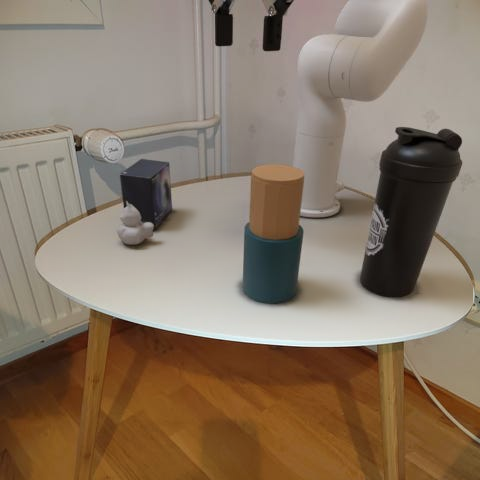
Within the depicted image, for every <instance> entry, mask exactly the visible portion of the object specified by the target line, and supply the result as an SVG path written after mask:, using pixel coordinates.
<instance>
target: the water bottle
mask: <svg viewBox="0 0 480 480" xmlns="http://www.w3.org/2000/svg"><path fill="white" fill-rule="evenodd" d="M394 132H395V134H396V135H397V138H396V139H394V140H393V141H391V142H390V143H389V144H388V145H387V146H386V149H384V150H383V151H382V152H381V155H380V160H379V177H378V183H377V188H376V193H375V199H374V202H373V207H372V213H371V218H370V223H369V228H368V233H367V239H366V244H365V249H364V255H363V260H362V265H361V271H360V276H359V282H360V284H361V285H362V287H363V288H364V289H365V290H366V291H368V292H370V293H372V294H374V295H377V296H379V297H384V298H390V299H391V298H392V299H396V298H398V299H400V298H405V297H408V296H410V295H412V294H413V293H414V291H415V288H416V285H417V283H418V280H419V278H420V275H421V272H422V268H423V266H424V263H425V260H426V258H427V255H428V252H429V250H430V246H431V244H432V242H433V238H434V236H435V232H436V230H437V227H438V225H439V221H440V219H441V217H442V213H443V211H444V208H445V206H446V203H447V199H448V197H449V195H450V192H451V188H452V186H453V183H454V182H455V181H456V180H457V178H458V177H459V175H460V172H461V169H462V166H463V160H462V159H461V153H460V151H459V150H460V148H461V146H462V144H463V140H462V136H460V134H458V133H456V132H455V131H453V130H452V129H450V128H441V129H440V130H439V131H437V133H435V132H430V131H426V130H423V129H419V128H414V127H409V126H408V127H407V126H398V127H395V131H394Z"/></svg>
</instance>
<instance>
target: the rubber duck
mask: <svg viewBox="0 0 480 480" xmlns="http://www.w3.org/2000/svg"><path fill="white" fill-rule="evenodd" d="M126 204H127V207H125V208H124V207H123V210H122V213H121V214H120V215H119V217H118V218H119V219H120V220H121V222H122V223H121V224H120V225H119V226H118V227H117V230H116V233H117V236H118V239H120V241H121V242H122V243H124V244H126V245H129V246H134V245H135V246H136V245H139V244H141V243H143V241H145V239H151V238H153V237H154V230H153V228H154V225H153V224H152V223H149V222H146V223H142V222H141V221H140V220H141V215H140V213H139V211H138V210H137V209H136V208H135V207H134V206H133V205H132V204H129V203H128V202H127V201H126Z"/></svg>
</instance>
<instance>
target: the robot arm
mask: <svg viewBox="0 0 480 480" xmlns="http://www.w3.org/2000/svg"><path fill="white" fill-rule="evenodd" d="M261 1H262V3H263V6H264V8H265V10H266V12H267V14H268V15H264V17H263V28H262V29H263V31H262V50H263V52H279V51H281V48H282V47H281V46H282V37H283V21H284V19H283V18H284V17H286V16H287V15H288V11H289V8H290V7H291V5H292V4H293V3H294V1H295V0H261ZM208 2H209V4H210V6H211V9H210V10H211V12H212V14H214V44H215V46H216V47H231V46H232V45H233V44H234V14H233V13H230V12H231V10H232V8H233V6H234V4H235V2H236V0H208ZM427 21H428V6H427V2H426V0H348V1H347V3H346V4H345V5H344V6H343V8H342V10H341V11H340V12H339V15H338V17H337V19H336V22H335V25H334V33H333V34H332V33H329V34H328V33H327V34H319V35H316V36H314V37H312V38H310V39H309V40H307V41H306V42H305V44H304V45H303V46H302V48H301V50H300V51H299V54H298V58H297V63H296V64H297V65H296V75H297V76H296V77H297V86H298V87H297V89H298V90H297V91H298V107H297V109H298V110H297V122H296V123H297V124H296V133H295V140H294V141H295V142H294V151H293V152H294V153H293V163H292V167H296V168H298V169H300V170H302V171H303V172H304V186H303V194H302V203H301V212H300V217H305V218H314V219H315V218H326V217H331V216H334V215H336V214H338V213H339V211H340V209H341V203H340V201H339V200H337V199H336V195H337V193H339V192H342V191H344V190H345V184H344V182H342V181H339V182H338V176H339V169H340V163H341V158H342V151H343V145H344V138H345V134H346V127H347V116H346V110H345V107H344V104H343V100H342V99H345V100H350V101H356V102H363V103H366V102H367V103H369V102H374V101H376V100H378V99H379V98H380V97H381V96H383V95H384V94H385V93H386V91H387V90H388V89H389V88H390V86H391V85H392V83H393V82H394V81H395V79H396V77H397V76H398V75H399V74H400V72H401V71H402V70H403V69H404V67H405V66H406V64H407V63H408V61H409V60H410V58H412V56H413V55H414V53H415V51H416V50H417V48H418V46H420V45H419V44H420V43H421V40H422V38H423V35H424V33H425V29H426V26H427Z"/></svg>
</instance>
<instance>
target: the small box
mask: <svg viewBox="0 0 480 480" xmlns="http://www.w3.org/2000/svg"><path fill="white" fill-rule="evenodd" d="M119 182H120V190H121V196H122V197H121V198H122V206H123V209H124V208H125V207H127V204H126V201H127V202H128V203H129V204H132V205H133V206H134V207H135V208H136V209H137V210H138V211H139V213H140V215H141V220H140V221H141V222H142V223H146V222H149V223H152V224H153V225H154V228H153V231H156V230H157V229H158V228H159V226H161V225H162V224H163V222H164V221H165V220H166V219H167V218H168V217H169V215H171V213H172V212H173V200H172V187H171V186H172V185H171V170H170V162H169V161H163V160H162V161H161V160H156V159H155V160H154V159H148V158H147V159H146V158H140V159H139V160H137V161H136V162H135V163H133V164H132V165H130V166H128V167H127V168H126V169H125V170H123V171H121V172H120V173H119Z"/></svg>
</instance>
